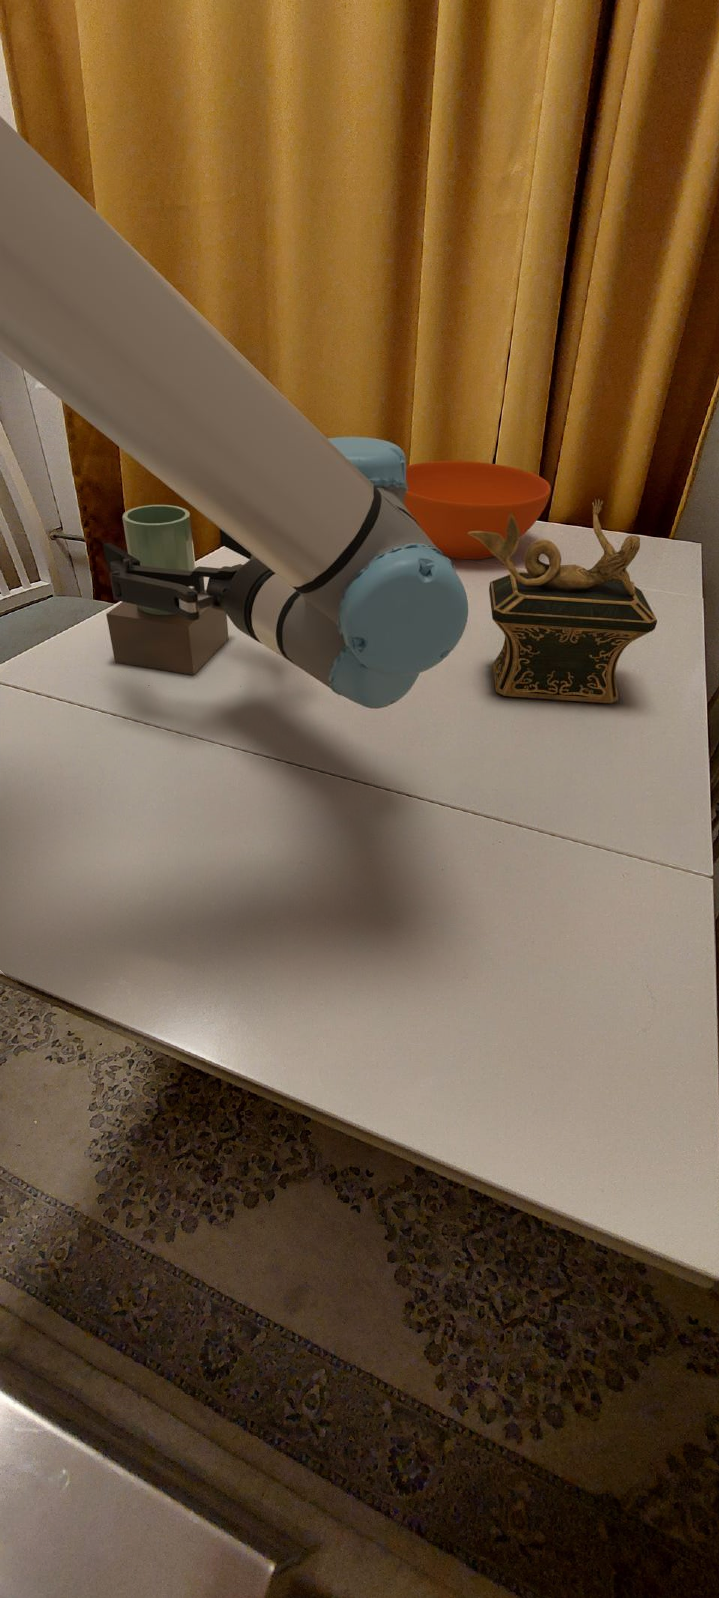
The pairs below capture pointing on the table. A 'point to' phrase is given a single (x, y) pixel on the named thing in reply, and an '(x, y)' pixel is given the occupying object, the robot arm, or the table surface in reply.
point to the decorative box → (564, 618)
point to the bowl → (472, 502)
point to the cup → (160, 539)
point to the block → (165, 638)
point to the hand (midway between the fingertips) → (168, 543)
